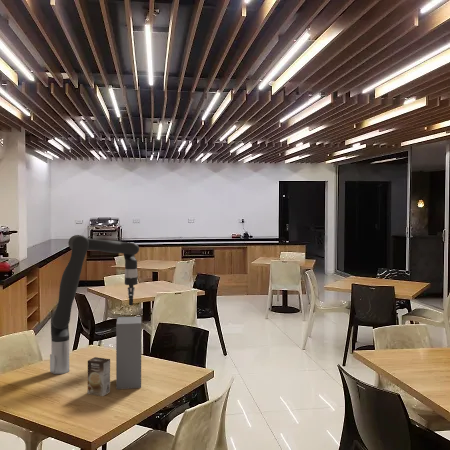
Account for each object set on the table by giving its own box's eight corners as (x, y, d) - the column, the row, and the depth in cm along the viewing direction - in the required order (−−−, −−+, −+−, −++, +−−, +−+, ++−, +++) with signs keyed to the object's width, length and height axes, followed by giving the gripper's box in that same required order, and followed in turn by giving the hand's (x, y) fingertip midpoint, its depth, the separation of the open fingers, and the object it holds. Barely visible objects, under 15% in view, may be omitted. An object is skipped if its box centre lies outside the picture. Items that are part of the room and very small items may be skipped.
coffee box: (86, 394, 228) (86, 360, 228) (94, 389, 234) (94, 356, 234) (103, 396, 225) (103, 362, 225) (110, 391, 231) (110, 358, 231)
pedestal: (118, 378, 250) (117, 317, 249) (141, 377, 252) (141, 316, 251) (116, 389, 234) (116, 324, 234) (141, 387, 236) (141, 323, 236)
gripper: (125, 275, 289) (125, 301, 289) (124, 278, 275) (124, 306, 275) (137, 274, 290) (137, 301, 290) (137, 277, 276) (137, 305, 276)
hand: (131, 303), depth 282 cm, fingers open, 8 cm apart
